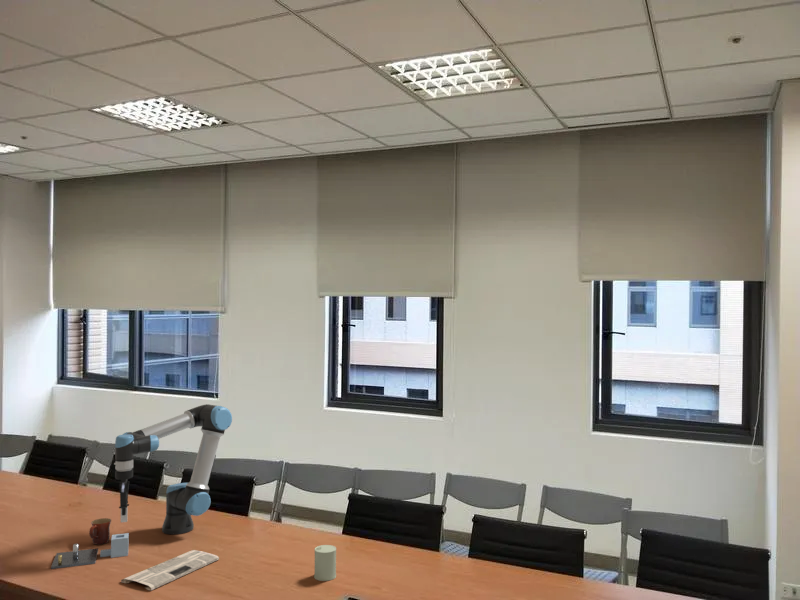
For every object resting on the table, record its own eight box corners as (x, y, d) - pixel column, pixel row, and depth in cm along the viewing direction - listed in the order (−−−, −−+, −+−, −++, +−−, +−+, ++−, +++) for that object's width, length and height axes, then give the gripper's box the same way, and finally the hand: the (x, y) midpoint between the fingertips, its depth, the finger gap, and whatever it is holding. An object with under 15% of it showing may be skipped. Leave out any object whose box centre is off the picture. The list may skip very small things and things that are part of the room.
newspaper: (151, 592, 245) (151, 585, 246) (118, 583, 255) (118, 576, 255) (218, 561, 278) (219, 555, 278) (187, 553, 287) (187, 547, 287)
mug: (98, 538, 305) (99, 517, 305) (114, 540, 303) (115, 518, 303) (81, 547, 293) (82, 525, 293) (98, 549, 291) (98, 526, 291)
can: (314, 572, 265) (314, 543, 265) (336, 571, 266) (336, 543, 266) (313, 581, 256) (313, 551, 256) (336, 580, 257) (336, 551, 257)
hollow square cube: (128, 550, 289) (128, 533, 290) (127, 555, 283) (128, 537, 283) (100, 553, 285) (101, 536, 285) (99, 559, 279) (100, 541, 279)
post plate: (98, 550, 289) (98, 536, 289) (95, 563, 273) (95, 548, 274) (56, 555, 283) (57, 540, 283) (51, 569, 267) (51, 553, 267)
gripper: (116, 466, 289) (116, 518, 288) (113, 473, 277) (113, 527, 276) (134, 465, 291) (134, 516, 291) (131, 472, 279) (131, 525, 278)
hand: (124, 521), depth 283 cm, fingers closed
